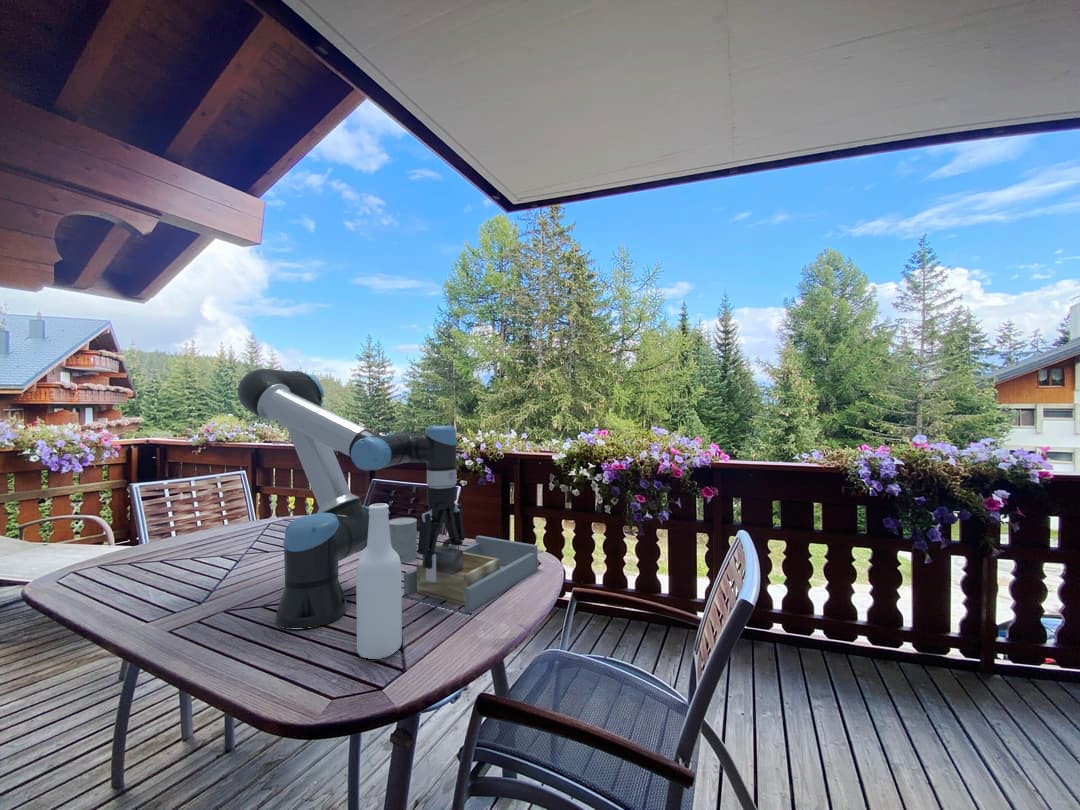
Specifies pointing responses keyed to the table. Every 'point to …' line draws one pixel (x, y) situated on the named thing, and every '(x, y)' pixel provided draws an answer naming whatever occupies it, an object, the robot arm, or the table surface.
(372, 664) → the table surface
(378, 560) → the alcohol
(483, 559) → the crate
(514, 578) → the bay
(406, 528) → the grey cylindrical piece
